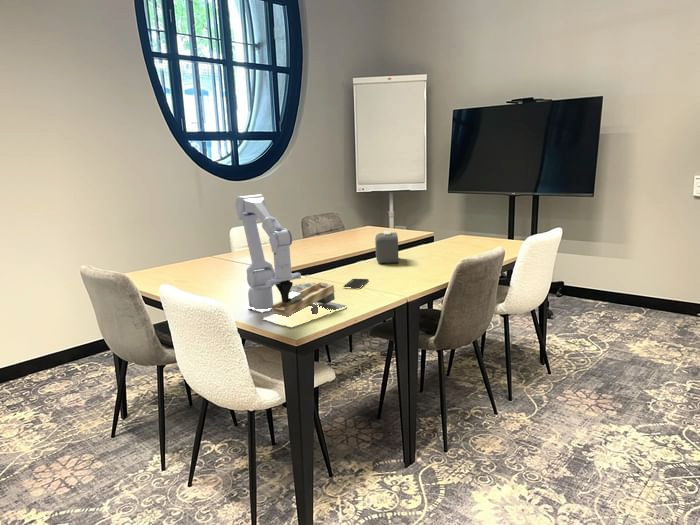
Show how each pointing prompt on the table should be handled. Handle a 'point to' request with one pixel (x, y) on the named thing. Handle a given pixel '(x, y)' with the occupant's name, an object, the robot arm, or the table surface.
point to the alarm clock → (387, 247)
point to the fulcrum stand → (326, 306)
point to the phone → (356, 283)
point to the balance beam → (306, 299)
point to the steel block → (293, 298)
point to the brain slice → (303, 286)
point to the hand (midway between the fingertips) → (285, 301)
